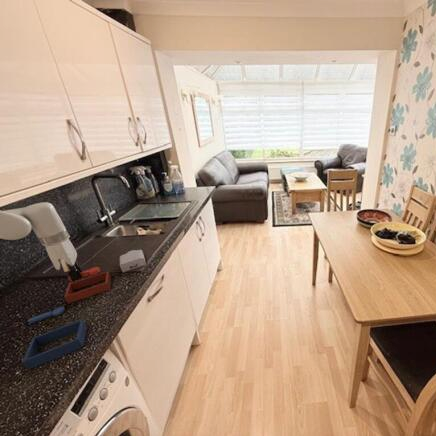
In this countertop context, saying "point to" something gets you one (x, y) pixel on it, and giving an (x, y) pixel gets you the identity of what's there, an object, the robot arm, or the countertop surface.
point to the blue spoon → (47, 314)
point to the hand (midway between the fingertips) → (78, 277)
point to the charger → (132, 260)
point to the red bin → (72, 296)
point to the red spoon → (88, 272)
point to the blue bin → (36, 360)
